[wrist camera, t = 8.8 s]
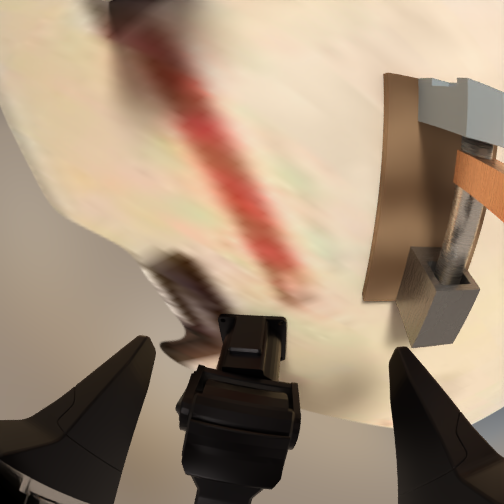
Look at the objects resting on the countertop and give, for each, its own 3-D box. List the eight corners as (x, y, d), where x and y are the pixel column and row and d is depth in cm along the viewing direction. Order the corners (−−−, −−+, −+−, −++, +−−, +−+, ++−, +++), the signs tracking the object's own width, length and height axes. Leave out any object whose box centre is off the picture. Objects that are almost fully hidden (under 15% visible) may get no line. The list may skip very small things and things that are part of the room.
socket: (479, 134, 13) (530, 157, 8) (418, 121, 14) (466, 137, 9) (480, 96, 12) (534, 107, 7) (418, 78, 13) (467, 78, 8)
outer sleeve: (432, 299, 21) (452, 343, 17) (395, 300, 22) (411, 348, 17) (450, 247, 19) (480, 289, 14) (410, 246, 19) (436, 291, 14)
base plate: (452, 291, 22) (456, 297, 21) (362, 293, 23) (364, 301, 22) (492, 102, 12) (499, 103, 12) (383, 73, 14) (388, 72, 13)
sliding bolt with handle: (450, 287, 18) (495, 379, 10) (417, 288, 18) (457, 389, 11) (487, 105, 10) (593, 142, 3) (451, 93, 11) (563, 119, 3)
